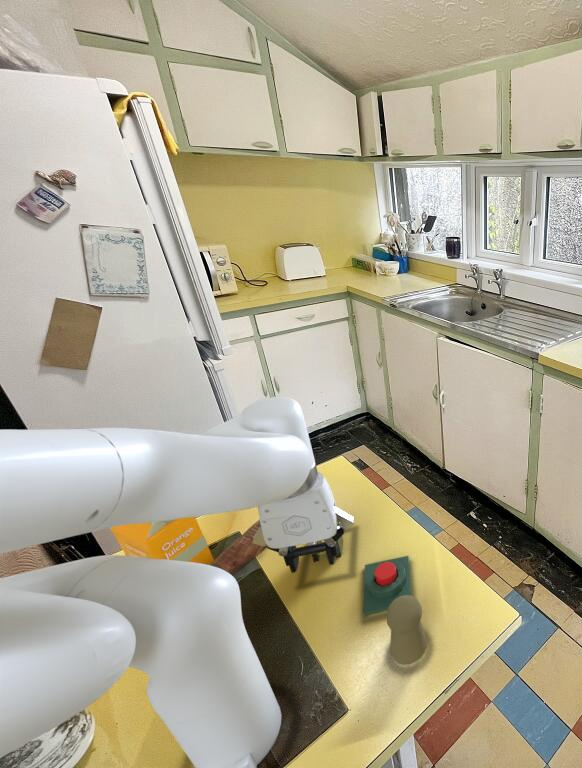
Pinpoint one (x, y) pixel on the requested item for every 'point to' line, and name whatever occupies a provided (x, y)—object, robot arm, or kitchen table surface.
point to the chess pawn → (406, 630)
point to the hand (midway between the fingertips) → (314, 560)
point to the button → (385, 573)
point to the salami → (239, 552)
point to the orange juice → (165, 540)
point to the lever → (309, 549)
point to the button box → (383, 596)
